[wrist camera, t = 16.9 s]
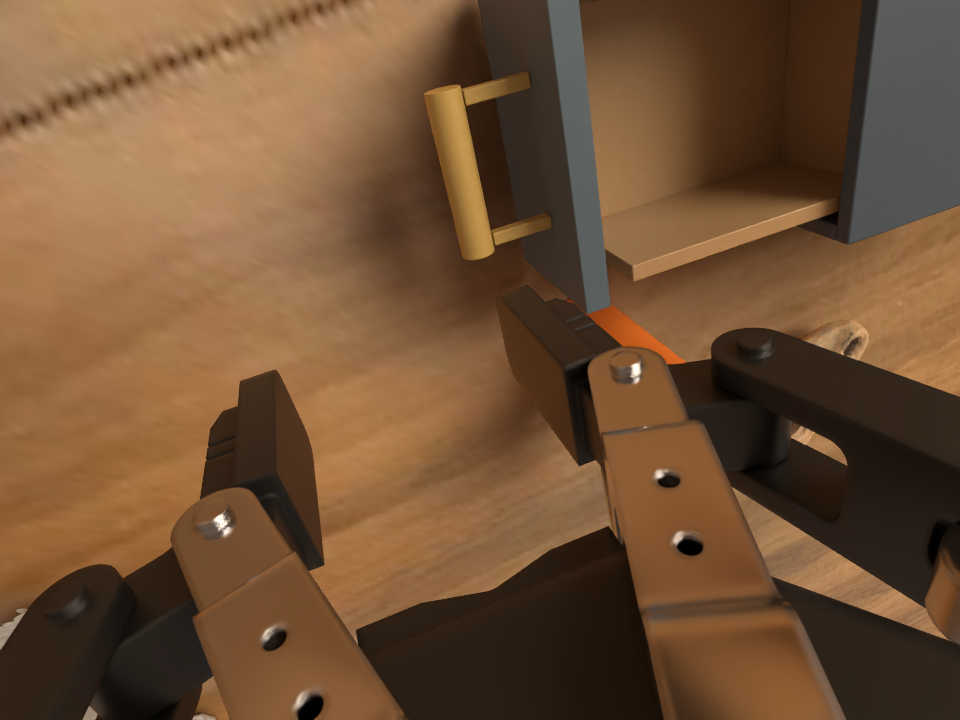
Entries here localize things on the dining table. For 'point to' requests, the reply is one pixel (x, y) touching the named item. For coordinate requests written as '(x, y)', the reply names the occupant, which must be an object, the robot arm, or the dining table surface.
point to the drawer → (652, 130)
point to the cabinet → (900, 120)
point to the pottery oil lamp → (841, 340)
